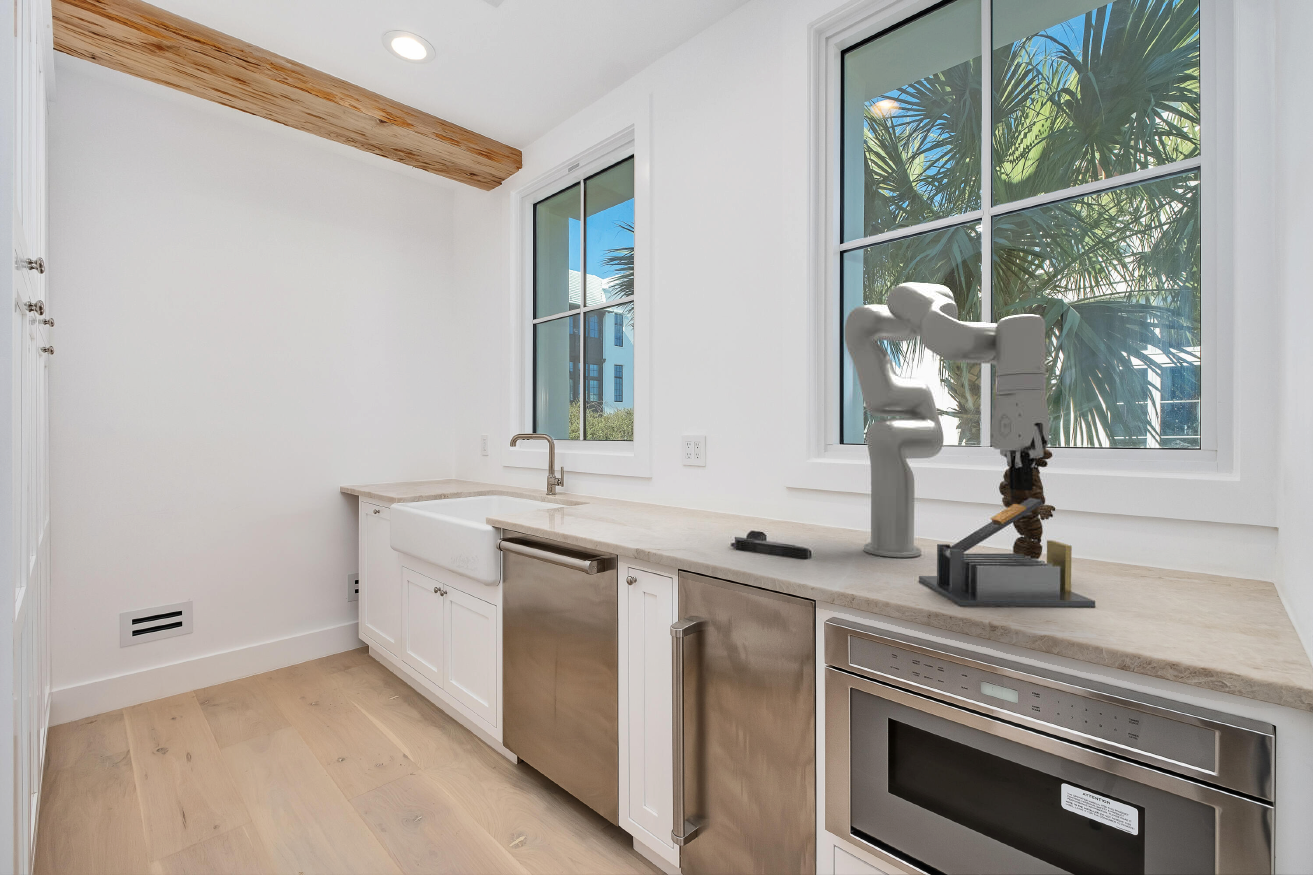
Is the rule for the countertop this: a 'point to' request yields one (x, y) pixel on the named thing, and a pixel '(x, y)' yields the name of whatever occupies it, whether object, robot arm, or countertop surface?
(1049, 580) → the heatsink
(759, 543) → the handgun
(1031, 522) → the toy
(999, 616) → the countertop surface
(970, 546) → the dark grey lever
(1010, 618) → the countertop surface
